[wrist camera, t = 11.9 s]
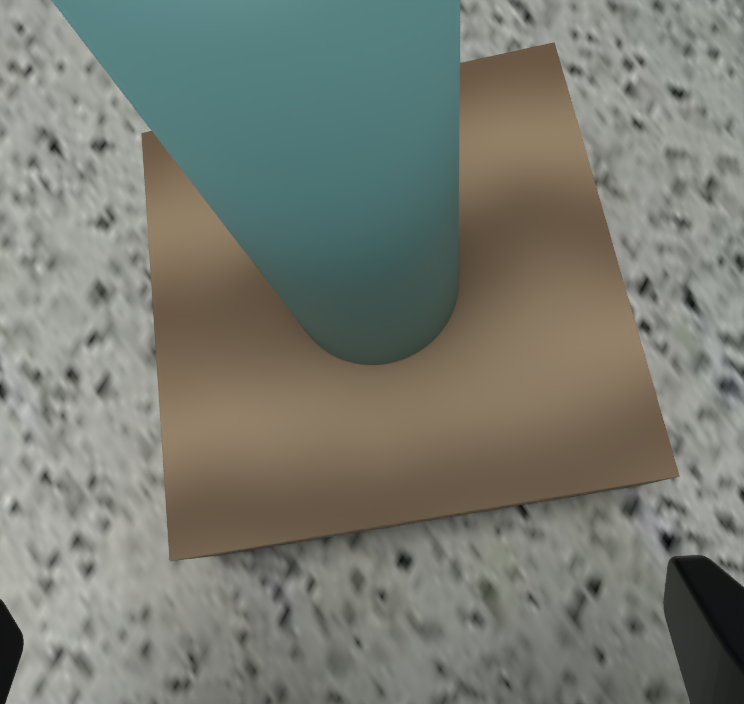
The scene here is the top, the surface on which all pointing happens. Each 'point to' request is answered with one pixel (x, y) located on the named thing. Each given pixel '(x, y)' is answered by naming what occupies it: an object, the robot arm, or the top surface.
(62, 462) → the top surface
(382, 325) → the teal post
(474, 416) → the walnut plinth
